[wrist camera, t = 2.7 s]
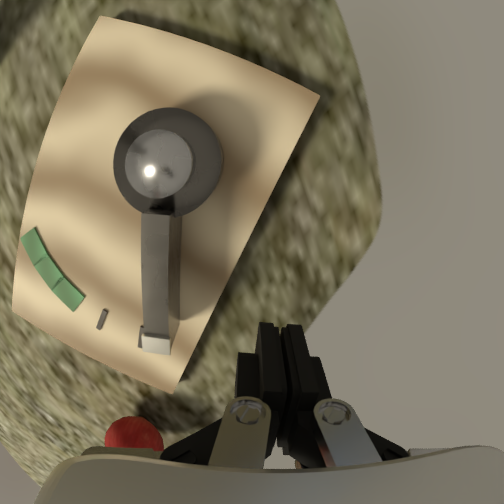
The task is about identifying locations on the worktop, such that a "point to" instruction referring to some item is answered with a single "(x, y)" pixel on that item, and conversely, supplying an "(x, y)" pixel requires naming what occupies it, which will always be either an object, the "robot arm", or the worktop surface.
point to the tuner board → (127, 217)
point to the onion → (133, 434)
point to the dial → (165, 204)
